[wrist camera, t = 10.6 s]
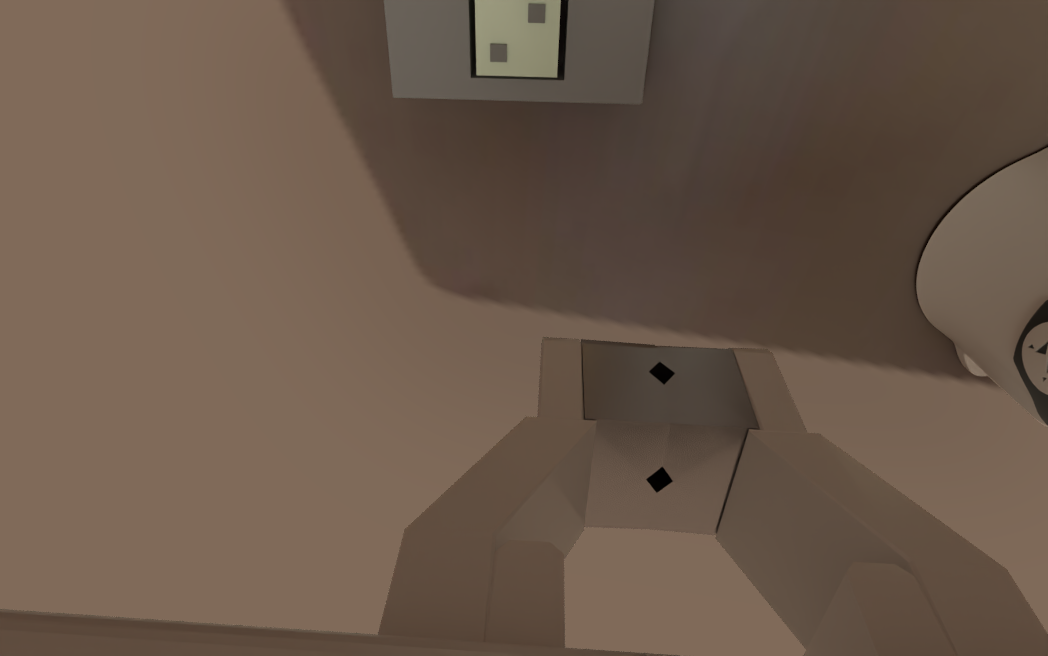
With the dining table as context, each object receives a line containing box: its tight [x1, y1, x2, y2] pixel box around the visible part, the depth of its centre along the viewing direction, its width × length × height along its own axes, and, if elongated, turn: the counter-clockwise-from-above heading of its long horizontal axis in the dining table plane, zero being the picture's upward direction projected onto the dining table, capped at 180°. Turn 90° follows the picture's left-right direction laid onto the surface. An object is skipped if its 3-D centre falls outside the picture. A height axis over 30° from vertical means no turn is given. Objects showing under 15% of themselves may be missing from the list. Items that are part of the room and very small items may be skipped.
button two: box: [475, 0, 561, 77], centre depth 32 cm, size 4×4×3 cm
